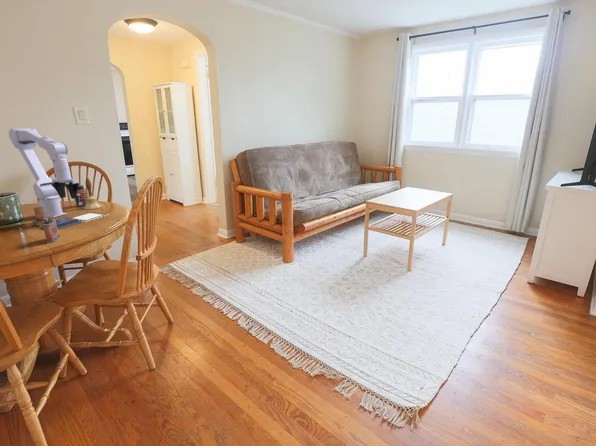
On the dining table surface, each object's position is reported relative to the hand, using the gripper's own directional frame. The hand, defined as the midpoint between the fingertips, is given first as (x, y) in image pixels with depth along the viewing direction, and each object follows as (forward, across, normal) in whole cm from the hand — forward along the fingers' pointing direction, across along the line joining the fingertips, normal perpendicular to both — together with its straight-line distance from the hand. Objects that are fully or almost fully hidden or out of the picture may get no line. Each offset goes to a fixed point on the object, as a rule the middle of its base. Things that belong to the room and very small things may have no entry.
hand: (68, 198), depth 160 cm
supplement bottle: (+10, -20, +20) cm, 30 cm away
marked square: (+10, +4, +5) cm, 12 cm away
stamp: (+10, -6, -11) cm, 16 cm away
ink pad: (+11, +4, -9) cm, 15 cm away
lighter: (+11, +20, -23) cm, 33 cm away
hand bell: (+10, -11, +19) cm, 25 cm away
